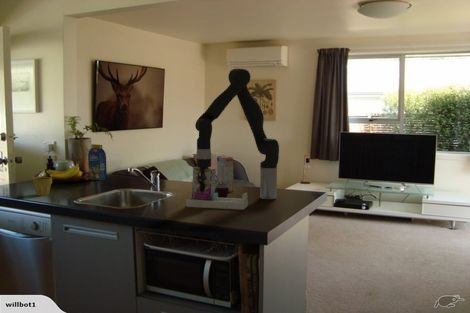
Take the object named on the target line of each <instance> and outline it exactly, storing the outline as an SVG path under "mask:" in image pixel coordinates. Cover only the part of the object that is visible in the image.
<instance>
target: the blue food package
mask: <svg viewBox="0 0 470 313" xmlns="http://www.w3.org/2000/svg"><path fill="white" fill-rule="evenodd" d="M106 153H107V152H106V151H105V150H104V149H103V144H95V143H93V144H92V143H91V145H90V149H89V151H88V153H87V161H88V164H87V166H88V179H89V180H91V181H101V182H102V181H106V180H108V175H107V174H108V173H107V154H106Z"/></svg>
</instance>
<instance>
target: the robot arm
mask: <svg viewBox="0 0 470 313" xmlns="http://www.w3.org/2000/svg"><path fill="white" fill-rule="evenodd" d="M250 81H251V73H250V71H249V70H248V69H246V68H233V69H231V70H230V71H229V73H228V82H229V85H228V86H227V88H226V89H225V90H224V91H222V92H221V93H220V94H219V95H218V96H217V97H216V98H214V100H213V101H212V102H211V104H210V105H209V106H208V108H207V109H206V111H204V112H203V113H202V114H201V115H200V116H199V117H198V118H197V119H196V122H195V130H196V131H198V138H197V139H196V167H200V172H198V173H197V174H198V183H199V184H200V191H205V179H206V176H205V177H204V174H205V168H210V167H212V149H211V148H212V147H211V146H212V145H211V143H212V142H211V139H212V134H213V133H212V132H213V124H212V123H213V122H215V120H217V119H218V118H219V117H220V116H221V114H222V113H223V112H224V111H225V109H226V108H227V107H228V105H229V104H230V103H231V102H232V100H234V98H235V97H237V99H238V102H239V104H240V107H241V109H242V111H243V113H244V116H245V119H246V121H247V123H248V126H249V127H250V130H251V133H252V135H253V137H254V138H253V139H254V141H255V145H256V147H257V150H258V152H259V153H260V154H262V155H264V156H265V158H264V160H262V161H261V162H259V163H260V166H259V168H260V169H259V170H260V173H259V174H260V180H259V182H260V184H259V185H260V186H259V187H260V189H259V192H260V193H259V196H260V199H262V200H276V199H277V197H278V194H277V193H278V163H279V160H280V159H279V157H280V156H279V154H280V144H279V141H278V140H277V139H275V138H268V137H267V136H266V132H265V129H264V121H265V117H264V112H263V111H262V109H261V105H260V103H259V102H258V101H257V99H256V98H255V97H254V96H253V94H252V93H251V91H250V90H249V88H248V84H249V83H250ZM203 177H204V178H203ZM201 180H202V181H201Z"/></svg>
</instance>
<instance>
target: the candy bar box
mask: <svg viewBox="0 0 470 313" xmlns="http://www.w3.org/2000/svg"><path fill="white" fill-rule="evenodd" d="M198 172H200V167H197V166H194V167H192V187H191V188H192V190H191V191H192V192H191V199H198V200H207V201H212V195H213V194H215V193H216V179H217V178H216V176H217V168H210V167H208V168H205V174H204V177H205V176H206V179H205V191H200V184H199V183H198V174H197V173H198ZM204 177H203V178H204ZM201 181H202V180H201Z"/></svg>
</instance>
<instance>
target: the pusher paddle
mask: <svg viewBox="0 0 470 313" xmlns="http://www.w3.org/2000/svg"><path fill="white" fill-rule="evenodd" d="M232 198H233V197H227V198H218V193H216V192H215V194H213V195H212V201H218V200H222V201H231V200H232Z"/></svg>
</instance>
